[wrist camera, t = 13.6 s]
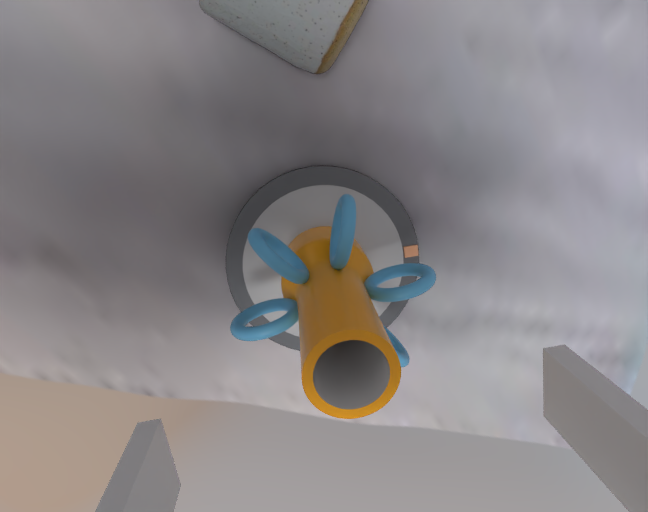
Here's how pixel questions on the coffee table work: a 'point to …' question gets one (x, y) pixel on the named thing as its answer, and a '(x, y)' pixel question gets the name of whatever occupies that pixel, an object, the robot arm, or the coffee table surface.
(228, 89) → the coffee table surface
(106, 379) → the coffee table surface
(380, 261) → the plate
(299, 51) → the ceramic mug
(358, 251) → the cylinder
